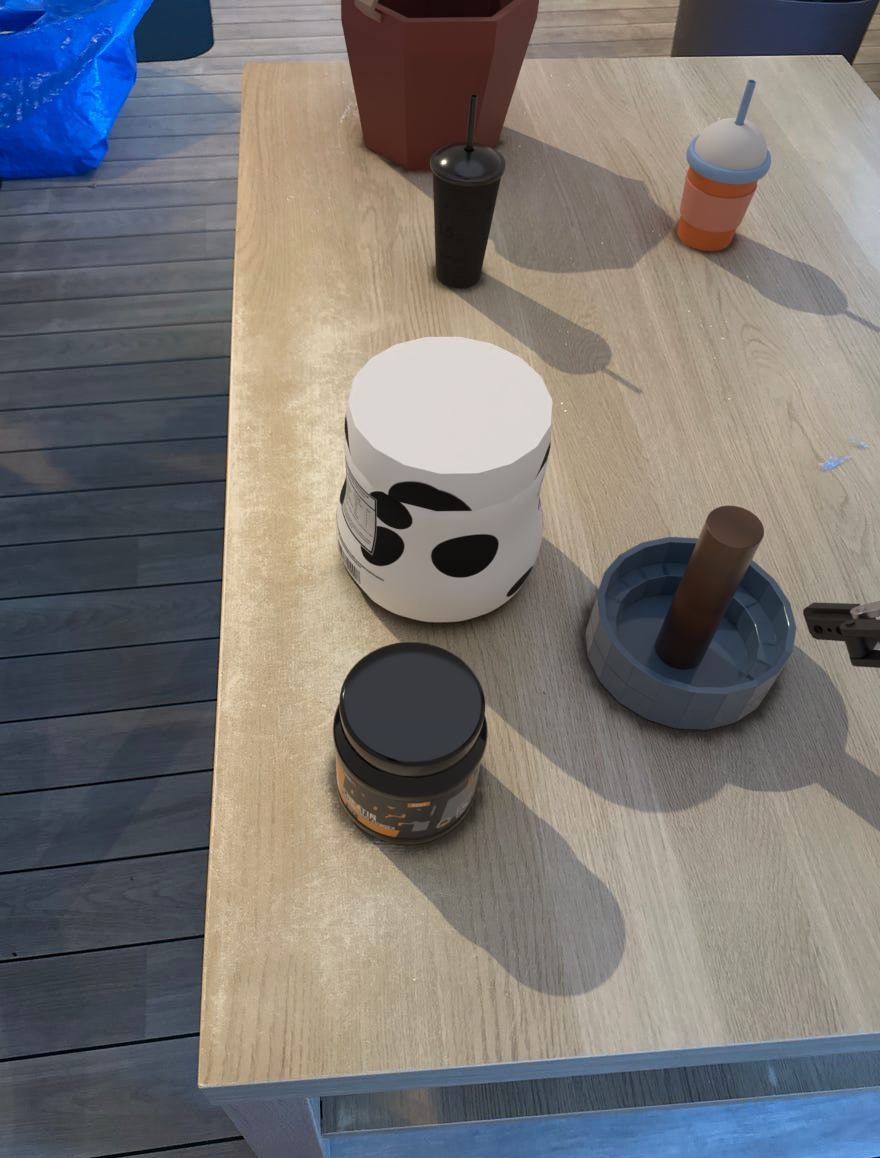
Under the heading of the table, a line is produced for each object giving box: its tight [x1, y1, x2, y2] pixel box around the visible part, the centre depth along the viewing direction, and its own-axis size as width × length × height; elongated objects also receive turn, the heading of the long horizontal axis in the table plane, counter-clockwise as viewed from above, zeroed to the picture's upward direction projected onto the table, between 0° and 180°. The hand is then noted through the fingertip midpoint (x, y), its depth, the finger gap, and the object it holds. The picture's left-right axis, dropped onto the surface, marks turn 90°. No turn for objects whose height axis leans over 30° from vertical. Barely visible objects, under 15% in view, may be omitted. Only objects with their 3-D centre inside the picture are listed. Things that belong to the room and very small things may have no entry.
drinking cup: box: [430, 94, 507, 290], centre depth 103 cm, size 8×8×20 cm
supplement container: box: [332, 641, 489, 845], centre depth 69 cm, size 10×10×12 cm
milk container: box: [335, 336, 554, 624], centre depth 80 cm, size 17×17×18 cm
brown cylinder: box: [655, 505, 765, 669], centre depth 75 cm, size 4×4×15 cm
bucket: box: [340, 0, 540, 172], centre depth 117 cm, size 24×22×25 cm
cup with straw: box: [677, 79, 772, 252], centre depth 109 cm, size 9×9×18 cm
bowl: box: [584, 536, 797, 731], centre depth 79 cm, size 15×15×6 cm
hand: (853, 589), depth 63 cm, fingers open, 8 cm apart
